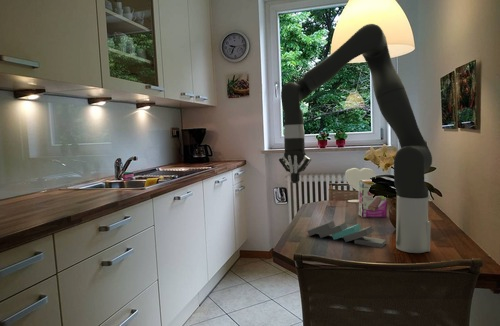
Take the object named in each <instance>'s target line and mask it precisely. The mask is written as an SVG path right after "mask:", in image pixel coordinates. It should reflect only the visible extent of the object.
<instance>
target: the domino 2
mask: <svg viewBox="0 0 500 326" xmlns="http://www.w3.org/2000/svg"><path fill="white" fill-rule="evenodd" d="M346 228H348V226H347V223H346V222H342V223H339V224H337V225H336V224H335V226H334V227H332V228H330V229H328V230H325V231H322V232H319V233H317V234H318V236H319V238H320V239H322V238H325V237H328V236H332V234H334V233H337V232H340V231H343V230H344V229H346Z"/></svg>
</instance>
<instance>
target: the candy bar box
mask: <svg viewBox="0 0 500 326" xmlns="http://www.w3.org/2000/svg"><path fill="white" fill-rule="evenodd" d="M373 184H374V183H373V182H372V180H359V202H358V216H359V217H360V218H362V219H363V218H365V219H366V218H367V219H370V218H372V219H373V218H387V209H388V207H387V206H388V197H387V198H386V197H384V196H375V197H374V198H373V196H374V195H373V194H371V193H370V192H369V189H370V187H371V185H373Z"/></svg>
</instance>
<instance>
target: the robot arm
mask: <svg viewBox="0 0 500 326" xmlns="http://www.w3.org/2000/svg"><path fill="white" fill-rule="evenodd" d="M361 55H362V57H363V58H364V60H365V62H366V64H367V67H368V68H369V69H368V70H369V71H370V74H371V79H372V80H371V81H372V88H373V92H374V97H375V100H376V102H377V105H378V109H379V112H381V115H382V117H383V118H384V120H385V121H386V122H387V124H388V125H389V127H390V128H391V129H392V131H393V132H394V133H395V135H396V139H397V140H398V143H399V146H400V148H399V149H398V150H397V152H396V153H395V154H394V159H393V183H394V188H395V190H396V214H395V215H396V216H395V217H396V221H395V223H396V225H395V237H396V238H395V248H396V249H397V250H399V251H401V252H406V253H410V254H411V253H413V254H422V253H423V254H424V253H426V252H431V227H432V226H431V225H432V223H431V221H430V220H429V188H428V187H427V186H426V182H425V173H426V172H427V171H428V170H430V168H431V167H432V163H433V155H432V153H431V150H430V149H429V146H428V145H427V142H426V141H425V139H424V136H423V135H422V133H421V131H420V127H419V125H418V122H417V119H416V117H415V114H414V111H413V108H412V105H411V102H410V100H409V95H408V93H407V91H406V88H405V86H404V84H403V82H402V79H401V78H400V75H399V74H398V73H397V71H396V69H395V67H394V64H393V62H392V58H391V55H390V50H389V46H388V42H387V37H386V35H385V33H384V31H383V29H382V28H381V27H380V26H379V25H378V24H374V23H368V24H365V25H364V26H362V27H361V28H359V29H358V30H357V31H356V32H354V34H352V36H350V38H348V39H347V41H345V42H343V44H342V45H341V46H340V47H338V48H337V49H336V50H335V51H334V52H333V53H331V54H330V55H328V56H327V57H326V58H325V59H323V60H322V61H321V62H319V63H317V64H316V65H315V66H313V67H312V68H311V69H309V70H308V71H306V72H305V73H304V74H303V77H302V78H300V80H298V81H297V82H291V81H289V82H287V83H285V84H284V85H283V86H282V88H281V92H280V97H281V99H280V100H281V104H282V109H283V114H284V115H283V116H284V126H283V127H284V129H283V141H284V142H283V143H284V153H283V156H282V157H281V158H279V159H278V161H279V163H280V164H281V166H282V167H283V168H284V170H285V171H286V172H289V173H290V180H291V182H292V184H298V183H299V182H300V173H301V172H304V171H305V170H306V169H307V167H308V166H309V164H310V163H311V162H312V158H310V157H308V156H307V155H306V154H307V153H306V152H305V135H306V134H305V129H304V113H303V110H302V109H301V104H300V102H301V101H303V100H305V99H306V98H307V97H309V96H310V95H311V94H312V93H313V92H314V91H315V90H317V89H319V88H320V87H322V86H323V85H325V84H326V83H328V82H329V81H330V80H332V79H333V78H334V77H335V76H336V75H337V74H338V73H339V72H340V71H341V70H342V68H344V67H345V66H346V65H347V64H349V63H350V62H351V61H352V60H353V59H356V58H357V57H359V56H361Z"/></svg>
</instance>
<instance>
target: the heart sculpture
mask: <svg viewBox="0 0 500 326" xmlns="http://www.w3.org/2000/svg"><path fill="white" fill-rule="evenodd" d="M376 176H377V175H376V171H375V170H374V169H372V168H367V167H363V168H360V169H359V168H357V167H352V168H348V169H347V170H346V171H345V174H344V177H345V181H346V182H347V183H348V185H349V186H350V187H351V188H353V189H355V190H356V191H358V195H357V197H358V199H349V200H347V202H349V203H359V180H371V179H370V178H372V177H375V178H376Z"/></svg>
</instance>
